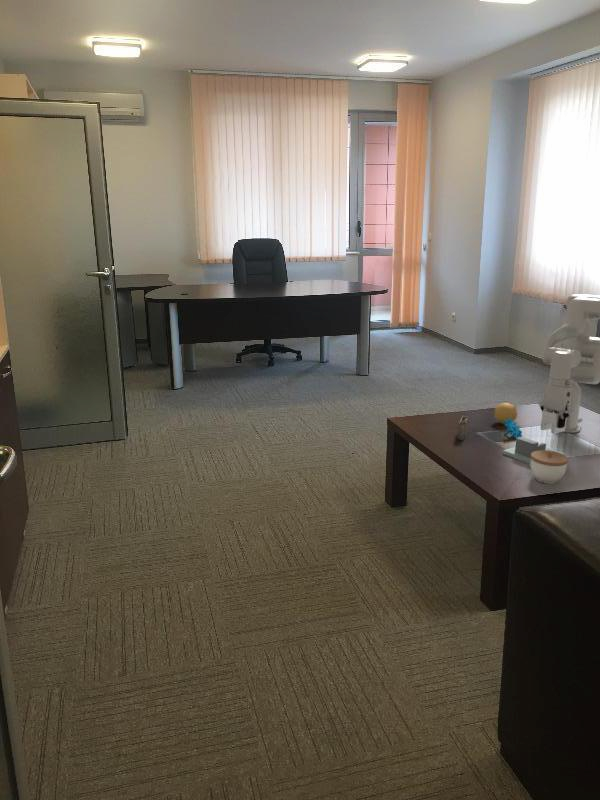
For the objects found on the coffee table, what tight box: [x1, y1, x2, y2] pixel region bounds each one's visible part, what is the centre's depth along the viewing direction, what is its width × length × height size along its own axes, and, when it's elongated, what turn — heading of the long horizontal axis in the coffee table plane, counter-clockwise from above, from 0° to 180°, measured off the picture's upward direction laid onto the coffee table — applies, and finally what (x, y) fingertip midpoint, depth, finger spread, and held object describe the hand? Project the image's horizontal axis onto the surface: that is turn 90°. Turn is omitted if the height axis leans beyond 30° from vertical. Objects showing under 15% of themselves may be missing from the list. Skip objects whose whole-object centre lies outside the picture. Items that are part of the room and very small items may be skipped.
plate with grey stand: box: [502, 436, 567, 465], centre depth 257 cm, size 18×16×8 cm
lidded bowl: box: [529, 450, 569, 484], centre depth 233 cm, size 13×13×11 cm
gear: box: [503, 419, 523, 439], centre depth 281 cm, size 11×6×10 cm
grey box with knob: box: [540, 409, 567, 434], centre depth 260 cm, size 7×6×8 cm
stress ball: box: [494, 402, 518, 426], centre depth 296 cm, size 10×10×10 cm
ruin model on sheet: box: [457, 415, 469, 441], centre depth 279 cm, size 11×3×10 cm, turn 159°
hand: (553, 425), depth 261 cm, fingers closed on grey box with knob, 6 cm apart
